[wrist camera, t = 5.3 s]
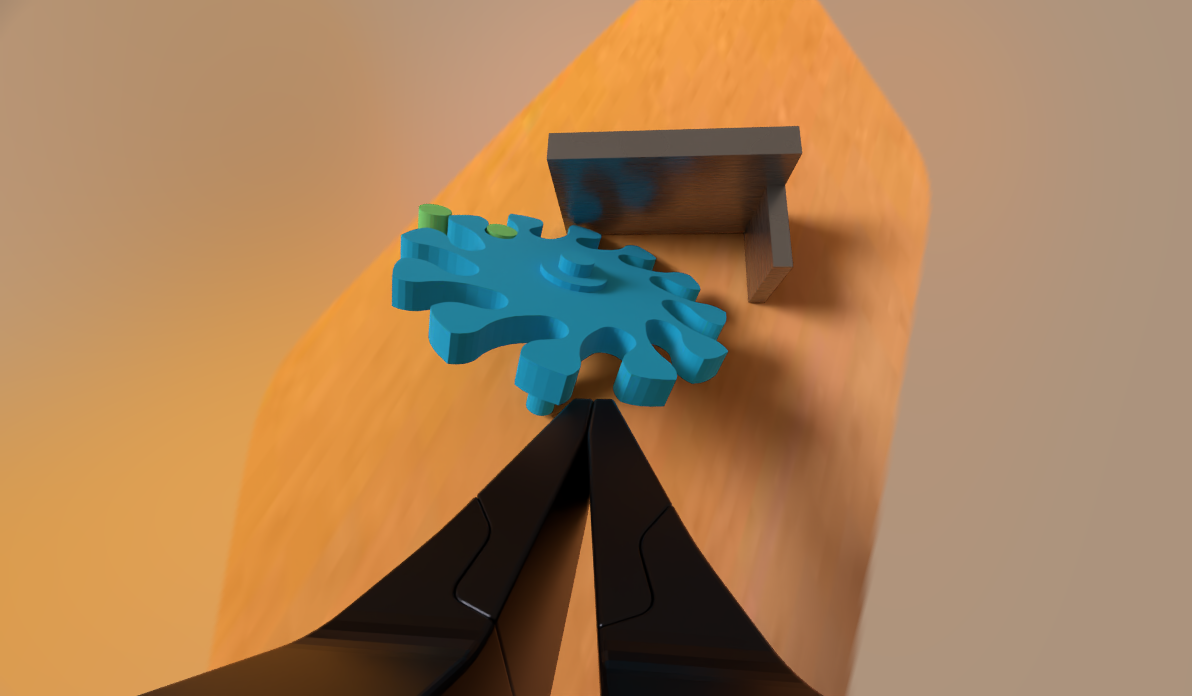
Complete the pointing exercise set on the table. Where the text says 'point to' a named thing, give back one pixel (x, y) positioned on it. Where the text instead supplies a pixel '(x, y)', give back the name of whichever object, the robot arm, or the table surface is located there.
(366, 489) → the table surface
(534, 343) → the gear
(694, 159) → the bay frame
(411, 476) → the table surface
